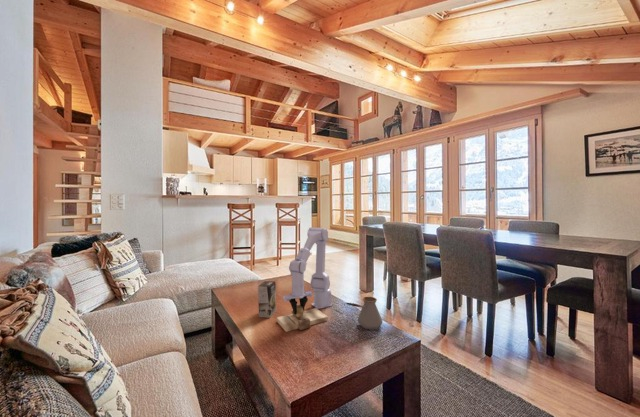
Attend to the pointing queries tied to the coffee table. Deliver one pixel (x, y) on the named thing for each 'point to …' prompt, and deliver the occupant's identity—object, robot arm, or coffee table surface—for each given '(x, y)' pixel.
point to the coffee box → (267, 298)
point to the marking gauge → (301, 318)
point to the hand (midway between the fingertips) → (298, 313)
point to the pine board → (314, 315)
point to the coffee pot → (368, 314)
